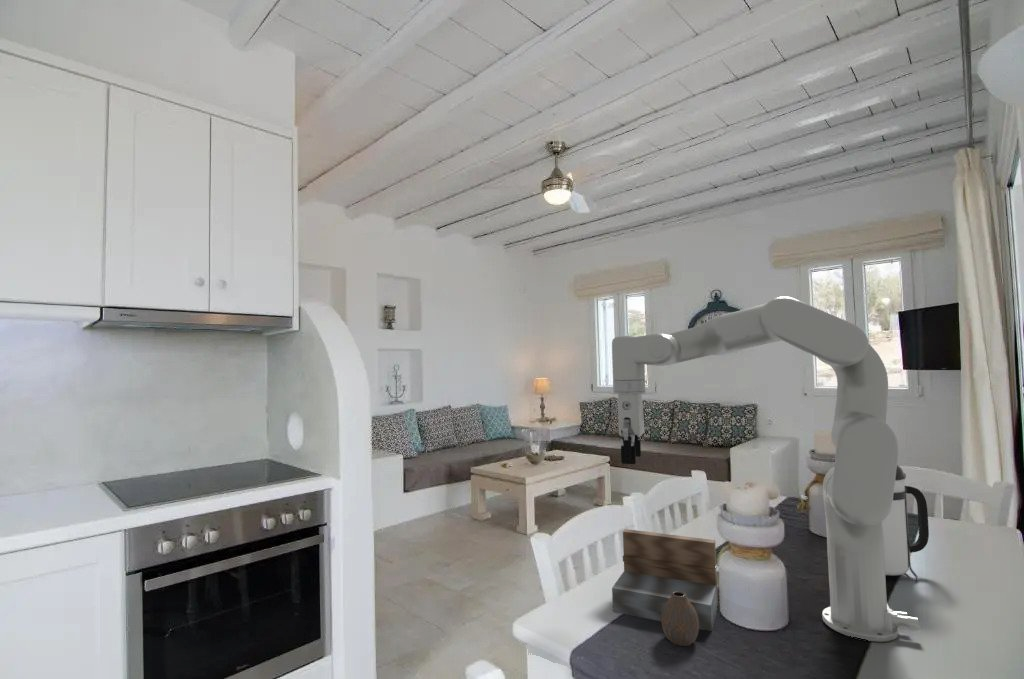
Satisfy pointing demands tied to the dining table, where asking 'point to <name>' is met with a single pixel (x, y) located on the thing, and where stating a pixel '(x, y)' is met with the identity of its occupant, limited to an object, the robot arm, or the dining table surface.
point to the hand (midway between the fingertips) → (631, 459)
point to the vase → (680, 620)
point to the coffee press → (903, 529)
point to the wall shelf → (666, 575)
